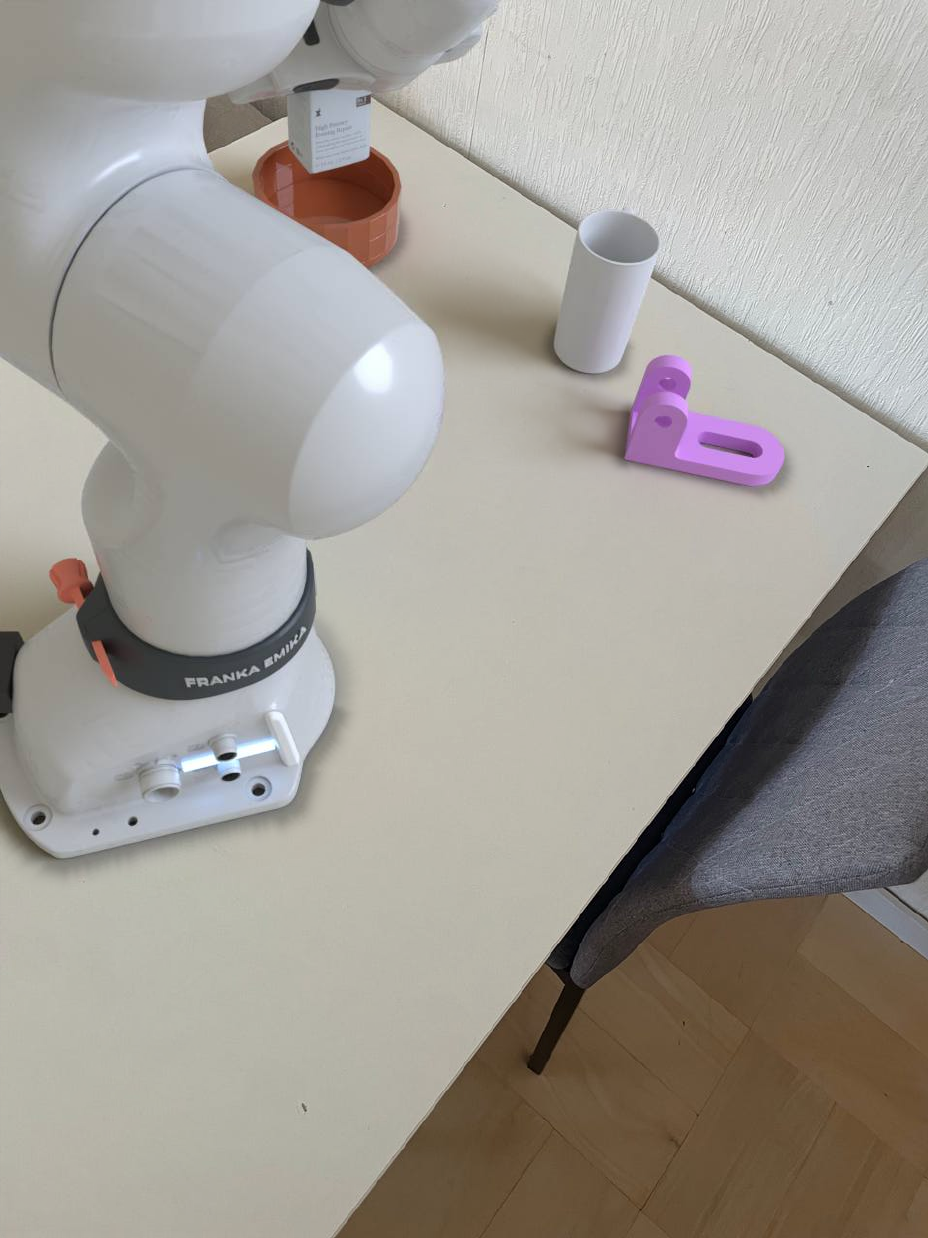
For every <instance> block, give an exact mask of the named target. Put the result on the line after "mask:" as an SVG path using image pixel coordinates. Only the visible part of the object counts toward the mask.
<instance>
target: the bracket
mask: <svg viewBox="0 0 928 1238" xmlns="http://www.w3.org/2000/svg"><path fill="white" fill-rule="evenodd" d="M692 375H693V371H692V367H691V365H690V363H689V362H688V361H687V360H685V358H682V357H681V356H679V355H675V354H674V355H673V354H663V355H658V356H657V357H655V358H652V359H651V360H650V361H649V362H648V363H647V365H646V367H645V370H644V373H643V375H642V378H641V381H640V384H639V387H638V389H637V391H636V392H637V393H636V395H635V398H634V400H633V404H632V407H631V409H630V415H629V420H628V421H629V422H628V430H627V437H626V443H625V453H624V460H627V461H630V462H635V463H640V464H644V465H649V466H653V467H657V468H658V467H659V468H663V469H669V470H672V471H678V472H682V473H686V474H691V475H696V476H701V477H705V478H711V479H715V480H718V481H723V482H729V483H733V484H738V485H743V486H748V487H759V486H764V485H767V484H769V483H771V482H772V481H773V480H774V479H775V478H776V476H777V474H778V473H779V471H780V470H781V468H782V466H783V464H784V462H785V450H784V447H783V445H782V444H781V442H780V440H779V439H778V438H777V437H776V436H775V435H774V434H773V433H771V432H770V431H768V430H767V429H765V428H762V427H760V426H758V425H755V424H750V423H746V422H740V421H737V420H731V419H727V418H721V417H719V416H713V415H709V414H704V413H699V412H694V411H690V410H689V404H688V402H687V401H686V399H687V397H688V394H689V392H690V389H691V386H692ZM701 443H702V444H707V445H711V446H717V447H721V448H726V449H731V450H735V451H739V452H745V453H748V454H751V455H752V456H753V457H751V456H746V455H741V454H737V453H733V452H727V451H723V450H718V449H713V448H709V447H705V446H704V445H702V444H701Z"/></svg>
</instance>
